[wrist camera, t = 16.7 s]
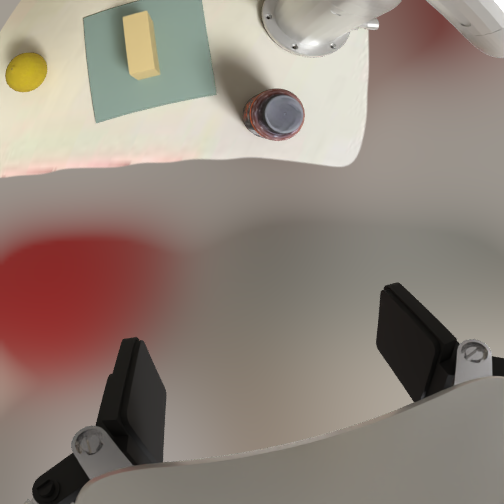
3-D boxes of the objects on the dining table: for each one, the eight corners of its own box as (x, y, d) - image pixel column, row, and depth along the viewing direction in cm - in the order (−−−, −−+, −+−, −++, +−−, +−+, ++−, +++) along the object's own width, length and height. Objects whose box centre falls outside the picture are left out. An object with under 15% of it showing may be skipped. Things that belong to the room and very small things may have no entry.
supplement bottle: (249, 88, 38) (265, 76, 27) (291, 102, 39) (320, 96, 29) (236, 130, 40) (247, 132, 29) (278, 143, 41) (303, 150, 31)
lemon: (60, 80, 33) (33, 74, 25) (30, 100, 33) (0, 99, 25) (50, 50, 30) (24, 39, 23) (21, 70, 30) (-8, 65, 23)
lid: (199, -10, 31) (199, -27, 26) (216, 95, 38) (218, 90, 32) (85, 20, 30) (70, 8, 25) (98, 123, 37) (82, 123, 31)
